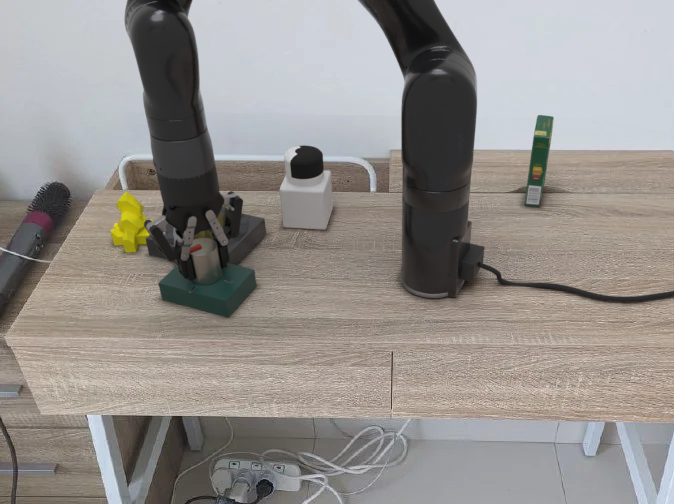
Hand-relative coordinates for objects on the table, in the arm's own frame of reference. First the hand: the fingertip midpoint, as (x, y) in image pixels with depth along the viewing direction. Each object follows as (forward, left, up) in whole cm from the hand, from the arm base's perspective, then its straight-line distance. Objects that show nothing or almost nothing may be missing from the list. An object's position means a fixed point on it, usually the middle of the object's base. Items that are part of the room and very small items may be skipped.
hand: (205, 271), depth 111 cm
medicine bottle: (-4, -24, -4) cm, 25 cm away
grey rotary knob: (0, 0, -1) cm, 1 cm away
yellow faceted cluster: (+19, -8, -4) cm, 21 cm away
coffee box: (-37, -45, -4) cm, 58 cm away
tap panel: (0, 0, -4) cm, 4 cm away
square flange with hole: (+7, -11, -4) cm, 14 cm away
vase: (+7, -11, -4) cm, 14 cm away
